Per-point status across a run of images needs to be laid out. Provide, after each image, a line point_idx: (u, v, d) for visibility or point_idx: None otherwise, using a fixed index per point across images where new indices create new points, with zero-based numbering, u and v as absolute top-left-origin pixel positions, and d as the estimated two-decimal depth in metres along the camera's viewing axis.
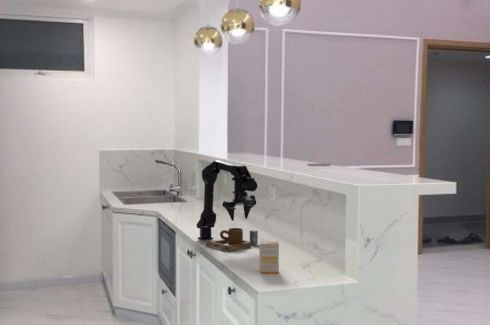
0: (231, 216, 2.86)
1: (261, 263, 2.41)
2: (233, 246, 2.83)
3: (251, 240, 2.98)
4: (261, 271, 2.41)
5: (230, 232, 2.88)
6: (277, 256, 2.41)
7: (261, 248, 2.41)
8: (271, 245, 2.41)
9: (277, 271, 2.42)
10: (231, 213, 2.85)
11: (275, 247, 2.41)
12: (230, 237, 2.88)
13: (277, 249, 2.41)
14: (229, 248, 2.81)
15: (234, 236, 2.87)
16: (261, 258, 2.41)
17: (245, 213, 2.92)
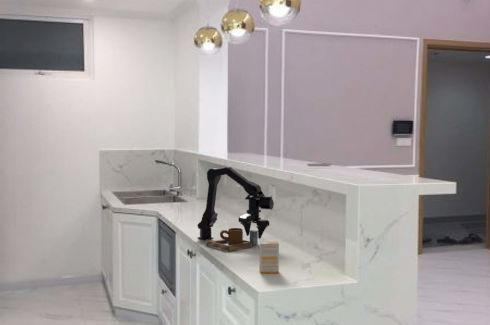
0: None
1: (261, 263, 2.41)
2: (233, 246, 2.83)
3: (251, 240, 2.98)
4: (261, 271, 2.41)
5: (230, 232, 2.88)
6: (277, 256, 2.41)
7: (261, 248, 2.41)
8: (271, 245, 2.41)
9: (277, 271, 2.42)
10: None
11: (275, 247, 2.41)
12: (230, 237, 2.88)
13: (277, 249, 2.41)
14: (229, 248, 2.81)
15: (234, 236, 2.87)
16: (261, 258, 2.41)
17: None
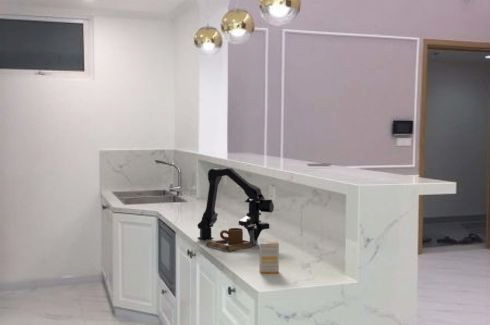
0: None
1: (261, 263, 2.41)
2: (233, 246, 2.83)
3: (251, 240, 2.98)
4: (261, 271, 2.41)
5: (230, 232, 2.88)
6: (277, 256, 2.41)
7: (261, 248, 2.41)
8: (271, 245, 2.41)
9: (277, 271, 2.42)
10: None
11: (275, 247, 2.41)
12: (230, 237, 2.88)
13: (277, 249, 2.41)
14: (228, 248, 2.81)
15: (234, 236, 2.87)
16: (261, 258, 2.41)
17: None
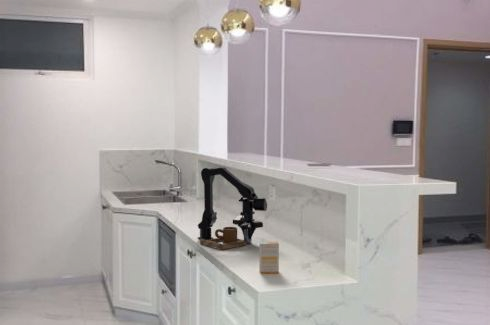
0: None
1: (261, 263, 2.41)
2: (227, 244, 2.86)
3: (245, 239, 3.01)
4: (261, 271, 2.41)
5: (225, 231, 2.91)
6: (277, 256, 2.41)
7: (261, 248, 2.41)
8: (271, 245, 2.41)
9: (277, 271, 2.42)
10: None
11: (275, 247, 2.41)
12: (225, 236, 2.91)
13: (277, 249, 2.41)
14: (222, 246, 2.84)
15: (229, 235, 2.90)
16: (261, 258, 2.41)
17: None
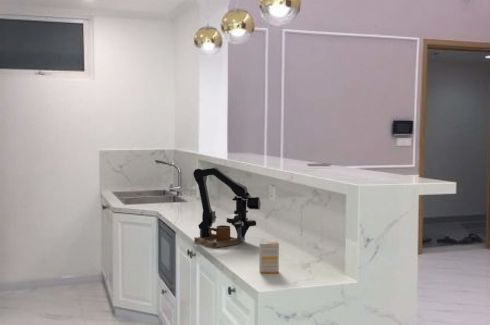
0: None
1: (261, 263, 2.41)
2: (220, 243, 2.90)
3: (238, 237, 3.05)
4: (261, 271, 2.41)
5: (218, 229, 2.95)
6: (277, 256, 2.41)
7: (261, 248, 2.41)
8: (271, 245, 2.41)
9: (277, 271, 2.42)
10: None
11: (275, 247, 2.41)
12: (218, 234, 2.95)
13: (277, 249, 2.41)
14: (216, 244, 2.88)
15: (222, 233, 2.94)
16: (261, 258, 2.41)
17: None
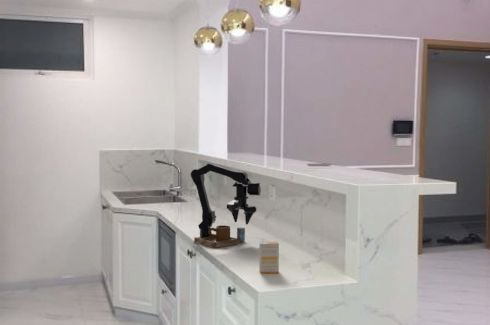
0: None
1: (261, 263, 2.41)
2: (220, 243, 2.90)
3: (238, 237, 3.06)
4: (261, 271, 2.41)
5: (218, 229, 2.95)
6: (277, 256, 2.41)
7: (261, 248, 2.41)
8: (271, 245, 2.41)
9: (277, 271, 2.42)
10: None
11: (275, 247, 2.41)
12: (218, 234, 2.95)
13: (277, 249, 2.41)
14: (216, 244, 2.89)
15: (222, 233, 2.94)
16: (261, 258, 2.41)
17: None
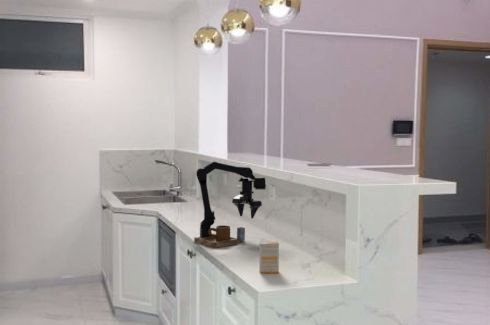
0: None
1: (261, 263, 2.41)
2: (220, 243, 2.90)
3: (238, 237, 3.06)
4: (261, 271, 2.41)
5: (218, 229, 2.95)
6: (277, 256, 2.41)
7: (261, 248, 2.41)
8: (271, 245, 2.41)
9: (277, 271, 2.42)
10: None
11: (275, 247, 2.41)
12: (218, 234, 2.95)
13: (277, 249, 2.41)
14: (216, 244, 2.89)
15: (222, 233, 2.94)
16: (261, 258, 2.41)
17: None
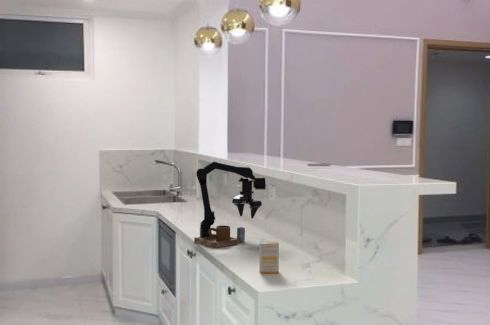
0: None
1: (261, 263, 2.41)
2: (220, 243, 2.90)
3: (238, 237, 3.06)
4: (261, 271, 2.41)
5: (218, 229, 2.95)
6: (277, 256, 2.41)
7: (261, 248, 2.41)
8: (271, 245, 2.41)
9: (277, 271, 2.42)
10: None
11: (275, 247, 2.41)
12: (218, 234, 2.95)
13: (277, 249, 2.41)
14: (216, 244, 2.89)
15: (222, 233, 2.94)
16: (261, 258, 2.41)
17: None
